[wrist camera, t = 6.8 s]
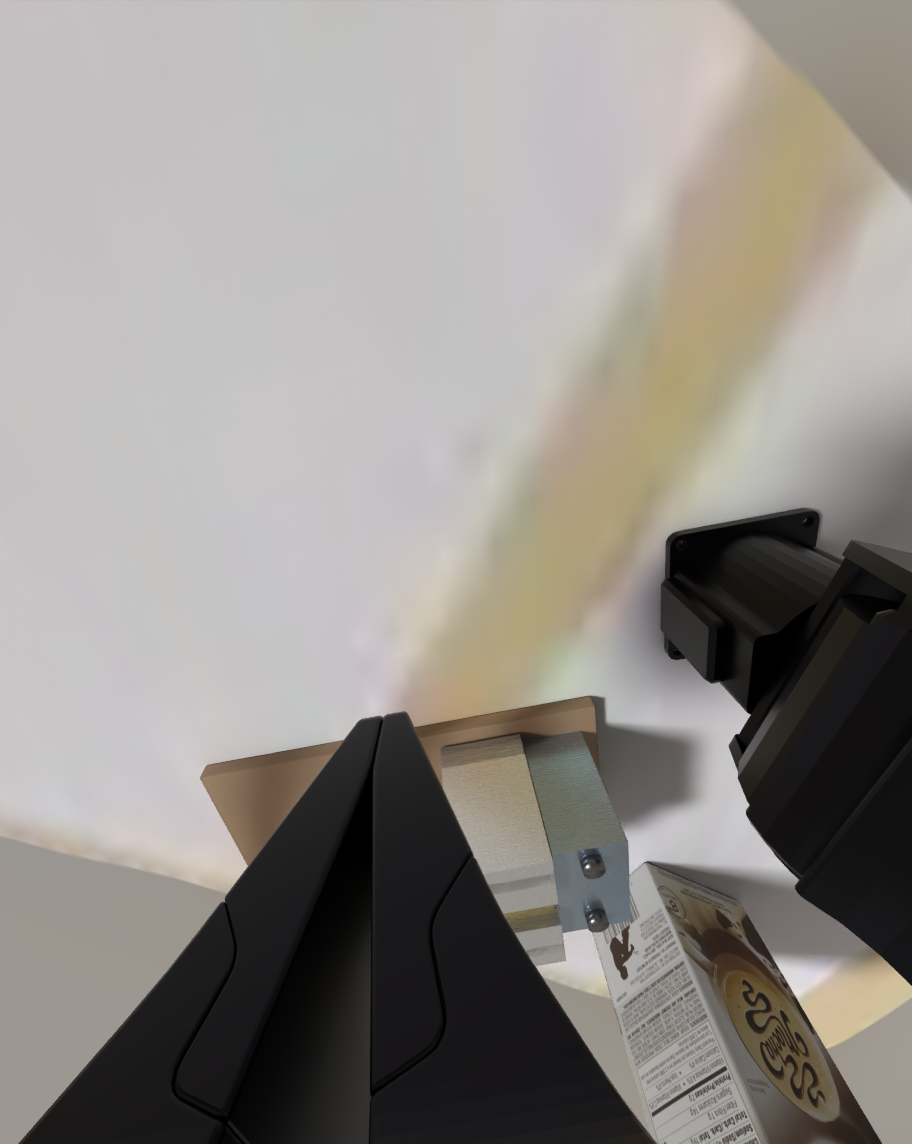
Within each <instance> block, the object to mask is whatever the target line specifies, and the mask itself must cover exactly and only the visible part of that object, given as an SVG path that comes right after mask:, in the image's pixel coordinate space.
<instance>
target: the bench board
mask: <svg viewBox="0 0 912 1144" xmlns="http://www.w3.org/2000/svg"><path fill="white" fill-rule="evenodd" d="M415 730H416V732H417V734H418V736H419V738H420V741H421V743H422V745H423V747H424V749H425V751H426V753H427V756H428V758H429V760H430V762H431V764H432V766H433V768H434V771H435V773H436V775H437V777H438V779H439V781H440V783H441V786H442V766H441V748H445V747H451V746H456V745H462V744H467V743H473V742H478V741H484V740H489V739H495V738H500V737H506V736H511V735H517V734H520V738H521V741H526V740H532V739H537V738H543V737H548V736H554V735H560V734H565V733H571V732H576V731H581V733H582V735H583V738H584V740H585V742H586V745H587V747H588V749H589V752H590V754H591V756H592V759H593V761H594V763H595V766H596V768H597V770H598V773H599V766H598V750H597V735H596V719H595V706H594V704H593V702H592V700H591V698H590V696H587V697H581V698H576V699H570V700H565V701H559V702H554V703H548V704H543V705H537V706H532V707H526V708H521V709H515V710H510V711H504V712H499V713H493V714H488V715H482V716H477V717H471V718H465V719H460V720H454V721H449V722H443V723H438V724H432V725H427V726H421V727H416V728H415ZM342 742H343V741H339V742H333V743H328V744H322V745H317V746H311V747H306V748H300V749H295V750H289V751H284V752H278V753H273V754H267V755H262V756H256V757H251V758H245V759H240V760H234V761H229V762H223V763H218V764H212V765H207V766H206V767H205V769H204V771H203V773H202V775H201V777H200V779H201V781H202V783H203V785H204V787H205V788H206V790H207V792H208V794H209V796H210V798H211V799H212V801H213V803H214V805H215V807H216V809H217V810H218V812H219V814H220V816H221V818H222V819H223V821H224V823H225V825H226V827H227V829H228V830H229V832H230V834H231V836H232V838H233V840H234V841H235V843H236V845H237V847H238V849H239V851H240V852H241V854H242V856H243V858H244V860H245V861H246V863H247V865H248V866H249V865H250V863H251V862H252V861H253V859H254V858H255V857H256V855H257V854H258V853H259V851H260V850H261V849H262V847H263V846H264V845H265V843H266V842H267V841H268V840H269V838H270V837H271V836H272V834H273V833H274V832H275V830H276V829H277V828H278V826H279V825H280V824H281V822H282V821H283V820H284V818H285V817H286V816H287V815H288V813H289V812H290V811H291V809H292V808H293V807H294V805H295V804H296V803H297V801H298V800H299V799H300V797H301V796H302V795H303V793H304V792H305V791H306V790H307V788H308V787H309V786H310V784H311V783H312V782H313V780H314V779H315V778H316V776H317V775H318V774H319V772H320V771H321V770H322V768H323V767H324V766H325V764H326V763H327V762H328V761H329V759H330V758H331V757H332V755H333V754H334V753H335V751H336V750H337V749H338V747H339V746H340V745H341V743H342ZM522 745H523V743H522ZM442 788H443V787H442Z"/></svg>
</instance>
